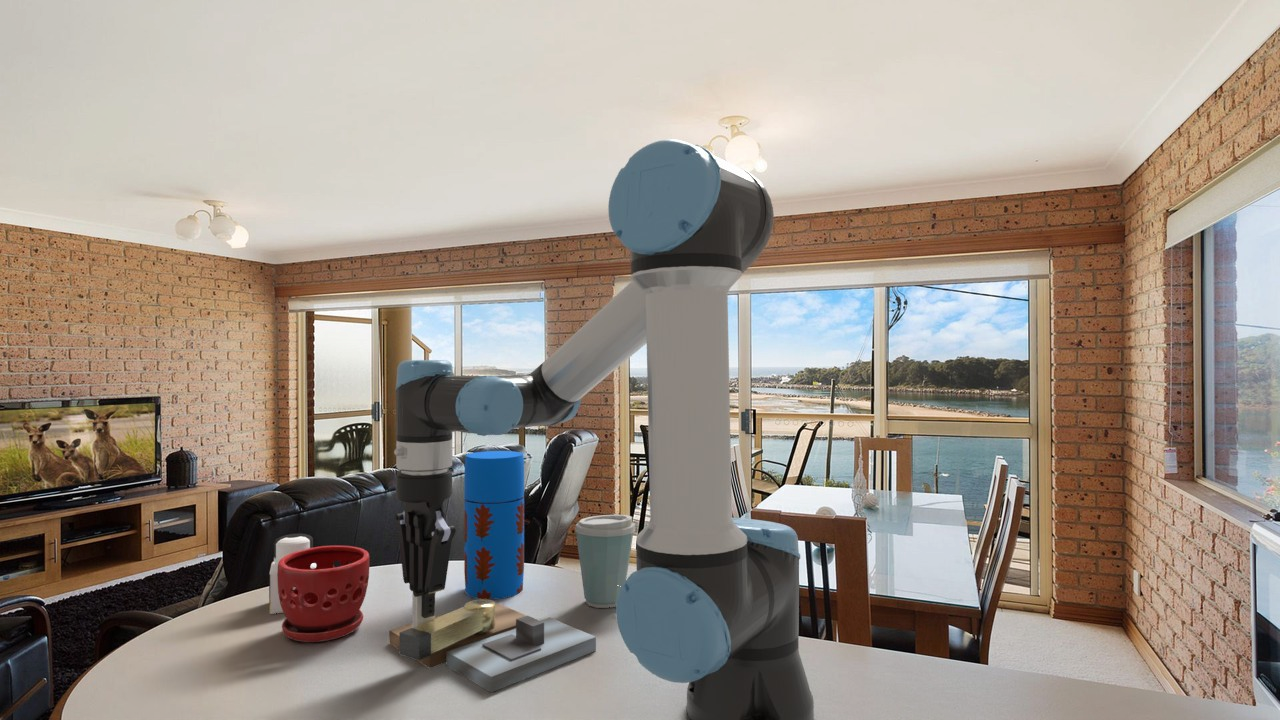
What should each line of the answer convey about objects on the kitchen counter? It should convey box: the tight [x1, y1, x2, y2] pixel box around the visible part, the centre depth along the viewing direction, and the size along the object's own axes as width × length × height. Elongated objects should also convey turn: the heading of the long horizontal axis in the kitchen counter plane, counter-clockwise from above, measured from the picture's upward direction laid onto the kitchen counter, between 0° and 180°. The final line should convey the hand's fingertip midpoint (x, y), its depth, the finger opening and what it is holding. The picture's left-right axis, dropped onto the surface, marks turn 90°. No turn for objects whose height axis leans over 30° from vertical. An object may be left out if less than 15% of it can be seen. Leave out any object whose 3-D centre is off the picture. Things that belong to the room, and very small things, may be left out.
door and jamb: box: [388, 601, 597, 693], centre depth 103 cm, size 24×20×5 cm
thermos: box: [463, 450, 525, 600], centre depth 129 cm, size 11×11×25 cm
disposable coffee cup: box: [574, 514, 636, 609], centre depth 122 cm, size 11×11×15 cm
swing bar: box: [398, 599, 496, 662], centre depth 99 cm, size 15×4×3 cm, turn 149°
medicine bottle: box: [268, 533, 317, 615], centre depth 121 cm, size 7×7×12 cm
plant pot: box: [277, 545, 370, 643], centre depth 109 cm, size 13×13×12 cm
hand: (423, 637), depth 98 cm, fingers closed
